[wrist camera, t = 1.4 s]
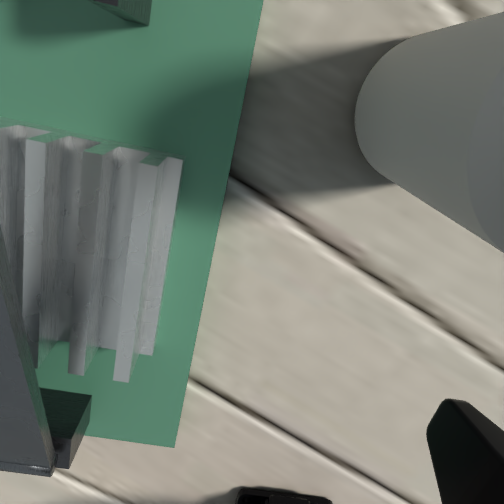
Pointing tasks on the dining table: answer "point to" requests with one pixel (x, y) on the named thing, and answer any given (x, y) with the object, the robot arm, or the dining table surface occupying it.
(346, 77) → the dining table surface
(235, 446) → the dining table surface
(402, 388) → the dining table surface
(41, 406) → the strap
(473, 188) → the beverage can
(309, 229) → the dining table surface
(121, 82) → the circuit board
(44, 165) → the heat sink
